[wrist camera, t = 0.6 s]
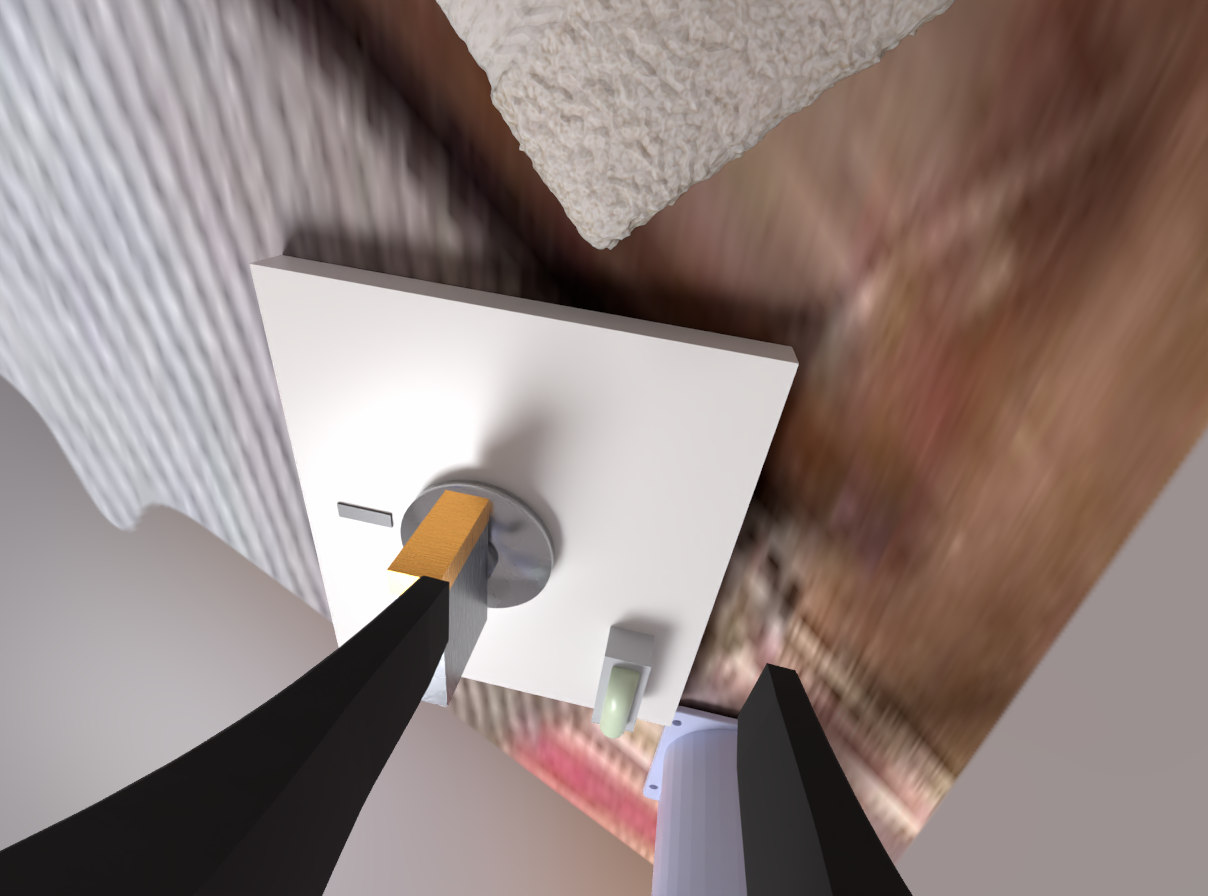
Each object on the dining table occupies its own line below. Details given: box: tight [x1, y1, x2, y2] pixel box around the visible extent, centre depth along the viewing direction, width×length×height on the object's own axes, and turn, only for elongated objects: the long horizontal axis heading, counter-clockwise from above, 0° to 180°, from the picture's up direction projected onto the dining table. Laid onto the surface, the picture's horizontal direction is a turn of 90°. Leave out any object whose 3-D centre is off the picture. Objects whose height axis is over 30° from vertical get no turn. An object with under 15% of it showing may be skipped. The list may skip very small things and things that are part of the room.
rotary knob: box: [387, 479, 555, 707], centre depth 19 cm, size 7×6×5 cm
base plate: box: [250, 255, 799, 738], centre depth 21 cm, size 20×18×4 cm
